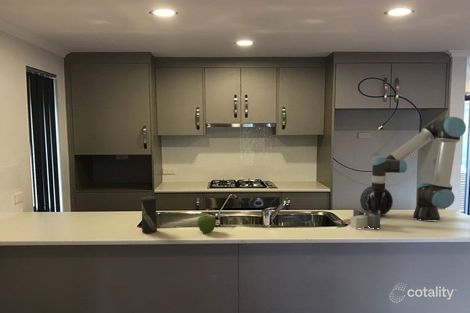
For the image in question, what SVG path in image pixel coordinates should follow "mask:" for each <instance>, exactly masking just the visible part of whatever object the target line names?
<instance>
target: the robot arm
mask: <svg viewBox="0 0 470 313" xmlns="http://www.w3.org/2000/svg"><path fill="white" fill-rule="evenodd" d="M466 129H467V125H466V123H465V121H464V120H463V119H461V118H460V117H458V116H446V117H445V116H444V117H438V118H436V119H434V120H432V121H431V122H430V123H427V125H426V126H424V127H423V128H422V129H421V131H420V132H419V133H418V134H416V135H415V136H413V137H412V138H410V139H409V140H408V141H407V142H406V143H404V144H402V145H401V146H400V147H398V148H397V149H396V150H394V151H393V152H392V153H391V154H389V155H388V156H373V158H372V161H371V162H372V164H371V166H372V167H371V168H372V169H371V186H372V189H373V191H372V194H369V197H370V201H371V207H372V209H373V210H374V213H378V214H380V212H381V211H382V209H383V208H384V203H385V198H386V196H387V193H384V189H386V173H387V174H388V173H392V174H395V173H396V174H397V173H399V174H401V173H402V174H403V173H406V171H407V169H408V163H407V162H406V159H407V158H408V157H410V156H411V155H412V154H414V153H415V152H416V151H418V150H419V149H420V148H422V147H423V146H425V145H426V144H428V143H429V142H430V141H431V142H433V141H434V140H436V139H437V140H438V142H439V144H438V151H437V158H436V162H435V168H434V169H435V171H434V177H433V181H432V182H420V183H417V187H416V207H415V210H414V212H413V219H415V218H417V219H416V220H418V219H421V220H420V221H423V220H439V221H441V215H440V212H439V209H447V208H450V206H452V205H453V204H454V201H455V199H456V198H455V194H454V193H453V186H452V184H451V178H452V173H453V172H452V171H453V166H454V160H455V154H456V153H455V152H456V147H457V143H459V142H460V141H461V137H462V136H463V135H464V134H465V133H466ZM438 208H439V209H438Z"/></svg>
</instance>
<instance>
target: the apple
mask: <svg viewBox="0 0 470 313" xmlns="http://www.w3.org/2000/svg"><path fill="white" fill-rule="evenodd" d="M216 224H217V220H216V217H214V216H213V215H207V214H206V215H201V216H199V217H198V219H197V226H198V228H199V231H200V232H201V233H203V234H209V233H211V232H213V231H214V229H215V227H216Z"/></svg>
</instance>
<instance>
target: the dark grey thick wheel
mask: <svg viewBox="0 0 470 313" xmlns="http://www.w3.org/2000/svg"><path fill="white" fill-rule="evenodd" d="M372 191H373V189H372V185H371V186H368V187H366V188H365V189H364V190H363V191H362V192H361V194H360V199H359V203H360V206H361V209H362V210H366V211H370V212H374V210H373V209H372V207H371V201H370V197H369V194H372ZM384 193H387V196H386V198H385V203H384V208H383V209H382V211H381V212H380V217H382V216H385V215H387V214H388V213H389V212H390V211H391V209H392V207H393V205H394V204H393V203H394V199H393V196H392V193H391V192H390V190H388V189H387V188H385V189H384Z"/></svg>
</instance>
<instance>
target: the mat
mask: <svg viewBox="0 0 470 313" xmlns="http://www.w3.org/2000/svg"><path fill="white" fill-rule="evenodd" d="M341 220H342V221H343V222H345V223H347V224H349V225H351V218H347V219H340V220H334V221H333V222H334V223H336V224H339V225H342V224H341Z"/></svg>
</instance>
